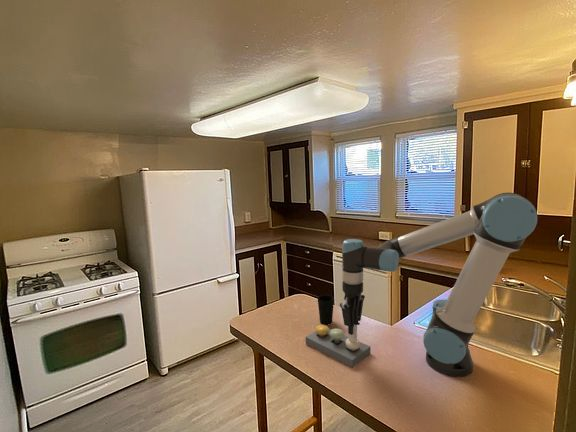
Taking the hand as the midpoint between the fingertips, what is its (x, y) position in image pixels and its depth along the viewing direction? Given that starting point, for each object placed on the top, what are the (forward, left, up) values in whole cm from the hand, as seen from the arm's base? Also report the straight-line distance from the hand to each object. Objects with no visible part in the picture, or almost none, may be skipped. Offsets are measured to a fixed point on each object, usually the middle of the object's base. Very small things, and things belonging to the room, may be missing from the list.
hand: (352, 340), depth 117 cm
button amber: (+15, 0, -5) cm, 16 cm away
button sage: (+7, 0, -4) cm, 8 cm away
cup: (+24, -14, -7) cm, 29 cm away
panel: (+7, 0, -6) cm, 10 cm away
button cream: (0, 0, -5) cm, 5 cm away
